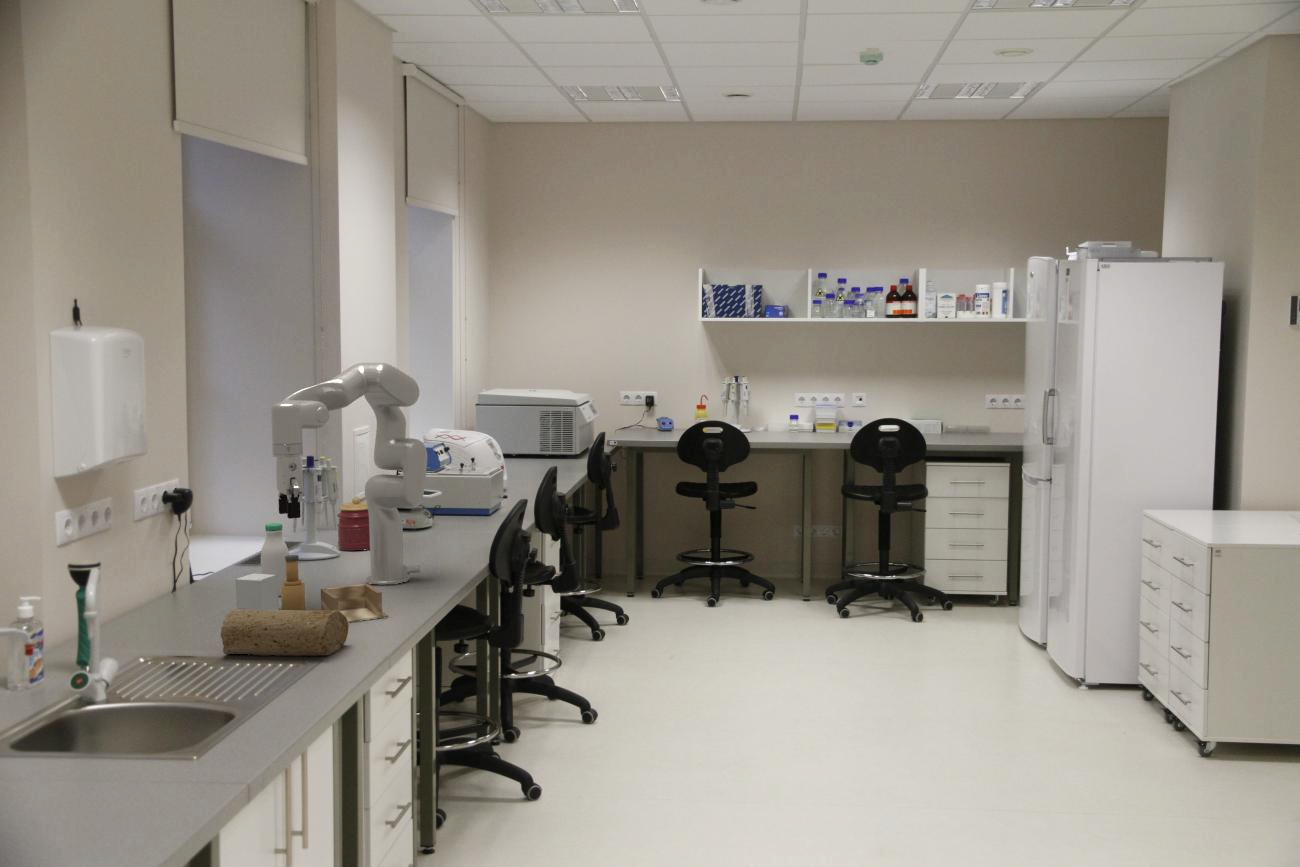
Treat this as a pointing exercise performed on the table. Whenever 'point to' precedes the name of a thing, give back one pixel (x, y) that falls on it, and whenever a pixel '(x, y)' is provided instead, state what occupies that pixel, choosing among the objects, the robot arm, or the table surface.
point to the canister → (354, 526)
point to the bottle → (292, 586)
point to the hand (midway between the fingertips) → (289, 515)
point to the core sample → (284, 632)
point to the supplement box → (257, 592)
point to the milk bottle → (274, 554)
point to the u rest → (354, 602)
